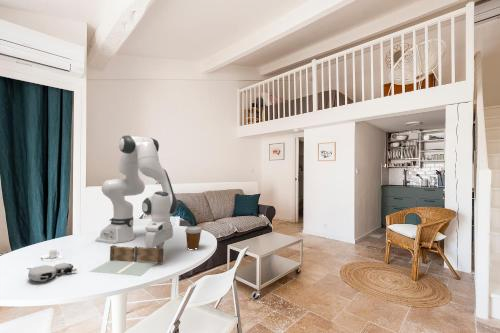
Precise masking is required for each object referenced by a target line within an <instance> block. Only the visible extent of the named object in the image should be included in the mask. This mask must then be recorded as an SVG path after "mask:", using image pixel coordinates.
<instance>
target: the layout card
mask: <svg viewBox="0 0 500 333" xmlns="http://www.w3.org/2000/svg"><path fill="white" fill-rule="evenodd" d="M156 264H158V262H148V261H137V262H134V261H133V262H126V261H110V260H108V261H107V262H105V263H103V264H101V265H99V266H97V267H95V268H94V269H92V270H90V271H89V273H99V274H101V273H102V274H111V275H112V274H114V275H124V276H133V277H134V276H135V277H137V276H138V277H141V276H142V275H144V274H145V273H147V272H148V271H149V270H150V269H151V268H153V267H154V266H156Z"/></svg>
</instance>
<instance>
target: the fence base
mask: <svg viewBox="0 0 500 333" xmlns="http://www.w3.org/2000/svg"><path fill="white" fill-rule="evenodd" d="M137 248H138V246H136V245H135V246H134V247H129V246H117V245H114V244H113V245H111V246H109V261H126V262H133V261H134V262H137Z"/></svg>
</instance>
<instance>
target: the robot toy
mask: <svg viewBox="0 0 500 333" xmlns="http://www.w3.org/2000/svg"><path fill="white" fill-rule="evenodd" d="M26 269H27V270H28V279H29V280H32V281H34V282H40V283H43V282H46V281H47V280H50V279H53V278H54V277H55V276H60V275H64V274H72V272H73V273H74V272H76V271H77V270H78V268H74V265H73V264H72V263H66V262H63V263H58V264H55V265H54V266H52V265H50V264H49V265H48V264H47V265H39V266H35V267H31V268H29V267H27V268H26Z"/></svg>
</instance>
